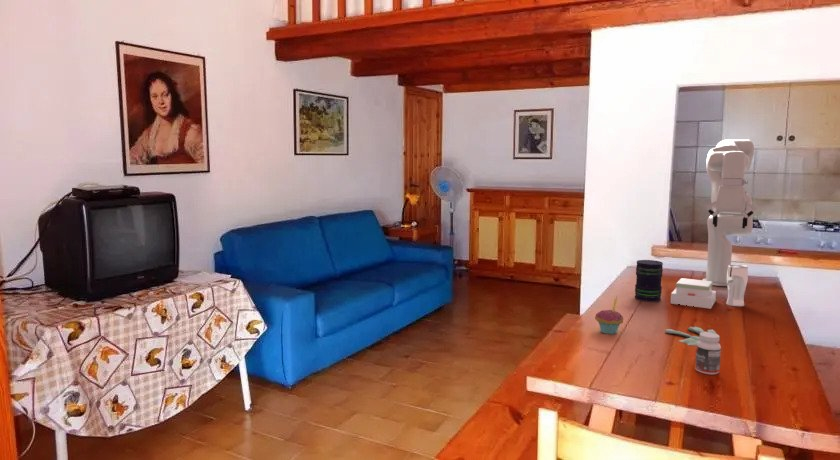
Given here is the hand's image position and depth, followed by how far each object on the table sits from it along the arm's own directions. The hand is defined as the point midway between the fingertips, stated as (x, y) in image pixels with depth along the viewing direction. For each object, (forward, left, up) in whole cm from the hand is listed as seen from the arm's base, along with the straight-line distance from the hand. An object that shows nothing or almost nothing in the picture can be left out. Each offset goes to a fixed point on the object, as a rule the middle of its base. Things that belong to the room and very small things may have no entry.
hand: (729, 227), depth 218 cm
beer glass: (+5, +4, -29) cm, 30 cm away
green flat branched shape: (+55, -4, -30) cm, 63 cm away
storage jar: (+14, -26, -29) cm, 42 cm away
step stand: (+10, -10, -29) cm, 32 cm away
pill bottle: (+87, +4, -29) cm, 92 cm away
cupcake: (+67, -27, -29) cm, 78 cm away
